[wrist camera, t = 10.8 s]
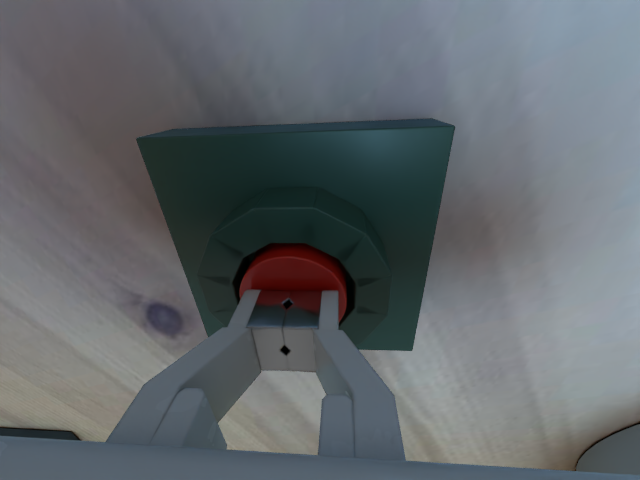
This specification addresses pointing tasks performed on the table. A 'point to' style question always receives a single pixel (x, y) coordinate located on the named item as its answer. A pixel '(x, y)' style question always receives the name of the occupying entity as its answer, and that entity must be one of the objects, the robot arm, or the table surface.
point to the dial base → (38, 434)
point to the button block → (307, 210)
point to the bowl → (614, 454)
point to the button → (296, 271)
